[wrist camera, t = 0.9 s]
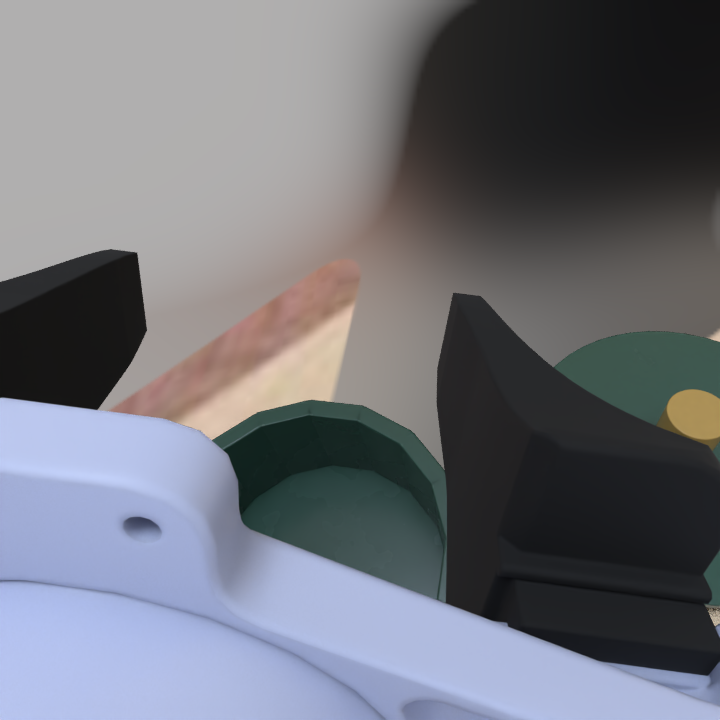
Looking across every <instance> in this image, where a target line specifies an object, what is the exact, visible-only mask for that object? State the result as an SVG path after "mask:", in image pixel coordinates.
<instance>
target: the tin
mask: <svg viewBox="0 0 720 720" xmlns="http://www.w3.org/2000/svg"><path fill="white" fill-rule="evenodd" d="M212 441H213V442H214V443H215V444H216V445H217V446H219V447H220V448H221V449H222V450H223V451H225V452H226V453H227V454H228V456H229V458H230V461H231V464H232V466H233V469H234V472H235V474H236V477H237V479H238V492H239V511H240V516H241V520H242V522H243V524H244V525H246V526H247V527H248V528H249V529H251V530H253V531H256V532H259V533H261V534H264V535H267V536H269V537H272V538H274V539H277V540H280V541H282V542H285V543H288V544H290V545H293V546H296V547H298V548H301V549H304V550H306V551H309V552H312V553H314V554H317V555H319V556H322V557H325V558H327V559H330V560H333V561H335V562H338V563H341V564H343V565H346V566H349V567H351V568H354V569H356V570H359V571H362V572H364V573H367V574H370V575H372V576H375V577H378V578H380V579H383V580H386V581H388V582H391V583H394V584H396V585H399V586H401V587H404V588H407V589H409V590H412V591H415V592H417V593H420V594H423V595H425V596H428V597H431V598H433V599H436V600H439V601H441V602H444V603H446V572H447V490H446V477H445V470H444V469H443V468H442V467H441V465H440V464H439V463H438V462H437V461H436V459H435V458H434V457H433V456H432V455H431V453H430V452H429V451H428V450H427V449H426V447H425V446H424V445H423V444H422V442H421V441H420V440H419V439H418V437H417V436H416V435H415V434H414V433H413V432H412V431H411V430H409V429H407V428H405V427H403V426H401V425H399V424H397V423H395V422H394V421H392V420H390V419H388V418H386V417H384V416H382V415H380V414H378V413H376V412H375V411H373V410H371V409H369V408H367V407H364V406H362V405H353V404H344V403H334V402H325V401H316V400H307V401H303V402H299V403H295V404H291V405H287V406H282V407H278V408H274V409H270V410H266V411H261V412H257V414H254V415H252V416H251V417H249V418H247V419H246V420H244V421H243V422H241V423H239V424H238V425H236V426H235V427H233V428H231V429H230V430H228V431H226V432H225V433H223V434H222V435H220V436H218V437H217V438H215V439H213V440H212Z"/></svg>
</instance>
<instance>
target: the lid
mask: <svg viewBox="0 0 720 720" xmlns="http://www.w3.org/2000/svg"><path fill="white" fill-rule="evenodd" d="M554 368H555V369H556V370H558V371H559V372H560V373H562V374H563V375H564V376H566V377H567V378H569V379H570V380H571V381H573V382H574V383H576V384H577V385H579V386H580V387H582V388H584V389H585V390H587V391H588V392H590V393H592V394H594V395H595V396H597V397H599V398H601V399H602V400H604V401H606V402H607V403H609V404H611V405H613V406H615V407H617V408H619V409H621V410H623V411H625V412H627V413H629V414H631V415H633V416H635V417H638V418H640V419H642V420H644V421H646V422H648V423H651V424H653V425H655V426H658V427H660V428H663V429H665V430H668V431H671V432H673V433H676V434H679V435H682V436H684V437H687V438H690V439H692V440H695V441H698V442H700V443H703V444H706V445H708V446H709V447H710V448H711V450H712V451H713V453H714V454H715V456H716V458H717V459H718V461H719V463H720V342H718V341H714V340H711V339H708V338H704V337H699V336H694V335H689V334H683V333H674V332H660V331H657V332H656V331H646V332H633V333H626V334H621V335H615V336H611V337H608V338H605V339H601V340H598V341H595V342H593V343H591V344H589V345H586V346H584V347H582V348H580V349H578V350H577V351H575V352H573V353H571V354H570V355H568V356H567V357H566V358H565V359H563V360H562V361H561V362H559V363H558V364H557V365H556V366H555V367H554ZM704 576H705V579H706V581H707V583H708V585H709V587H710V589H711V591H712V600H711V601H710V603H709V604H705V606H706V607H707V608H720V551H719V552H718V554H717V555H716V556H715V558H714V559H713V561H712V562H711V564H710V565H709V567H708V568H707V570H706V571H705V572H704Z"/></svg>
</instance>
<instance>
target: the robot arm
mask: <svg viewBox="0 0 720 720" xmlns="http://www.w3.org/2000/svg"><path fill="white" fill-rule="evenodd" d="M146 331H147V327H146V319H145V311H144V303H143V295H142V288H141V279H140V271H139V263H138V255H137V253H135V252H127V251H119V250H112V249H110V250H104V251H99V252H95V253H92V254H88V255H84V256H81V257H79V258H75V259H72V260H69V261H66V262H63V263H60V264H57V265H54V266H51V267H48V268H45V269H42V270H39V271H36V272H32V273H29V274H26V275H23V276H19V277H16V278H13V279H9V280H6V281H2V282H0V720H720V624H718V625H717V626H714V624H713V622H712V620H711V617H710V615H709V613H708V611H707V609H706V606H705V604H709V603H710V601H711V600H712V591H711V589H710V587H709V585H708V583H707V581H706V579H705V576H704V572H705V571H706V570H707V568H708V567H709V565H710V564H711V562H712V561H713V559H714V558H715V556H716V555H717V554H718V552H719V551H720V463H719V461H718V459H717V458H716V456H715V454H714V453H713V451H712V450H711V448H710V447H709V446H708V445H706V444H703V443H700V442H698V441H695V440H692V439H690V438H687V437H684V436H682V435H679V434H676V433H673V432H671V431H668V430H665V429H663V428H660V427H658V426H655V425H653V424H651V423H648V422H646V421H644V420H642V419H640V418H638V417H635V416H633V415H631V414H629V413H627V412H625V411H623V410H621V409H619V408H617V407H615V406H613V405H611V404H609V403H607V402H606V401H604V400H602V399H601V398H599V397H597V396H595V395H594V394H592V393H590V392H588V391H587V390H585V389H584V388H582V387H580V386H579V385H577V384H576V383H574V382H573V381H571V380H570V379H569V378H567V377H566V376H564V375H563V374H562V373H560V372H559V371H558V370H556V369H555V368H553V367H552V366H551V365H550V364H548V363H547V362H546V361H545V360H543V359H542V358H541V357H540V356H539V355H538V354H537V353H536V352H534V351H533V350H532V349H531V348H530V347H529V346H528V345H527V344H526V343H525V342H523V341H522V340H521V339H520V338H519V337H518V336H517V335H516V334H515V333H514V331H512V330H511V328H510V327H509V326H508V325H507V324H506V323H505V322H504V321H503V320H502V319H501V318H500V316H498V314H497V313H496V312H495V311H494V310H493V309H492V308H491V307H490V305H489V304H488V303H487V302H486V301H485V300H484V299H483V298H482V297H481V296H475V295H467V294H459V293H453V297H452V301H451V306H450V311H449V316H448V320H447V325H446V330H445V335H444V340H443V344H442V349H441V354H440V359H439V364H438V370H437V409H438V418H439V427H440V436H441V444H442V452H443V460H444V468H445V477H446V490H447V572H446V603H444V602H441V601H439V600H436V599H433V598H431V597H428V596H425V595H423V594H420V593H417V592H415V591H412V590H409V589H407V588H404V587H401V586H399V585H396V584H394V583H391V582H388V581H386V580H383V579H380V578H378V577H375V576H372V575H370V574H367V573H364V572H362V571H359V570H356V569H354V568H351V567H349V566H346V565H343V564H341V563H338V562H335V561H333V560H330V559H327V558H325V557H322V556H319V555H317V554H314V553H312V552H309V551H306V550H304V549H301V548H298V547H296V546H293V545H290V544H288V543H285V542H282V541H280V540H277V539H274V538H272V537H269V536H267V535H264V534H261V533H259V532H256V531H253V530H251V529H249V528H248V527H247V526H246V525H244V524H243V522H242V520H241V516H240V511H239V492H238V479H237V477H236V474H235V472H234V469H233V466H232V464H231V461H230V458H229V456H228V454H227V453H226V452H225V451H223V450H222V449H221V448H220V447H219V446H217V445H216V444H215V443H214V442H213V441H212V440H210V439H209V438H208V437H207V436H206V435H205V434H203V433H202V432H201V431H199V430H196V429H193V428H190V427H187V426H184V425H181V424H178V423H175V422H172V421H169V420H166V419H162V418H154V417H146V416H139V415H131V414H124V413H116V412H108V411H101V410H98V408H99V407H100V405H101V404H102V403H103V401H104V400H105V399H106V397H107V396H108V394H109V393H110V392H111V390H112V389H113V388H114V386H115V385H116V384H117V382H118V381H119V379H120V378H121V377H122V375H123V373H124V372H125V371H126V369H127V368H128V366H129V365H130V364H131V362H132V360H133V358H134V356H135V354H136V352H137V350H138V348H139V346H140V344H141V342H142V339H143V338H144V335H145V333H146Z"/></svg>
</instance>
